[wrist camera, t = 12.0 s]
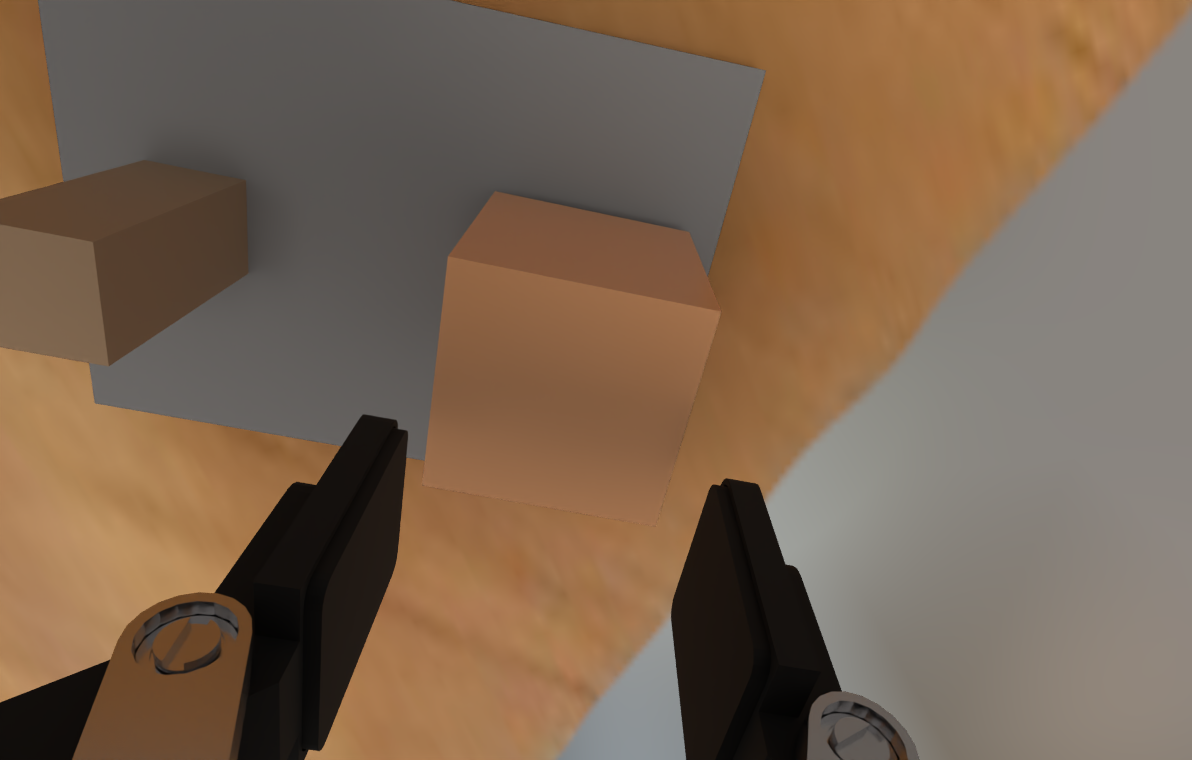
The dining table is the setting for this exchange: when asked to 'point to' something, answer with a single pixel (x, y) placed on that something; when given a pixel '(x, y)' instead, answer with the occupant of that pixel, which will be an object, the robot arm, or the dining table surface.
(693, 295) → the tan cardboard box
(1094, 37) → the dining table surface
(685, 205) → the post stand
